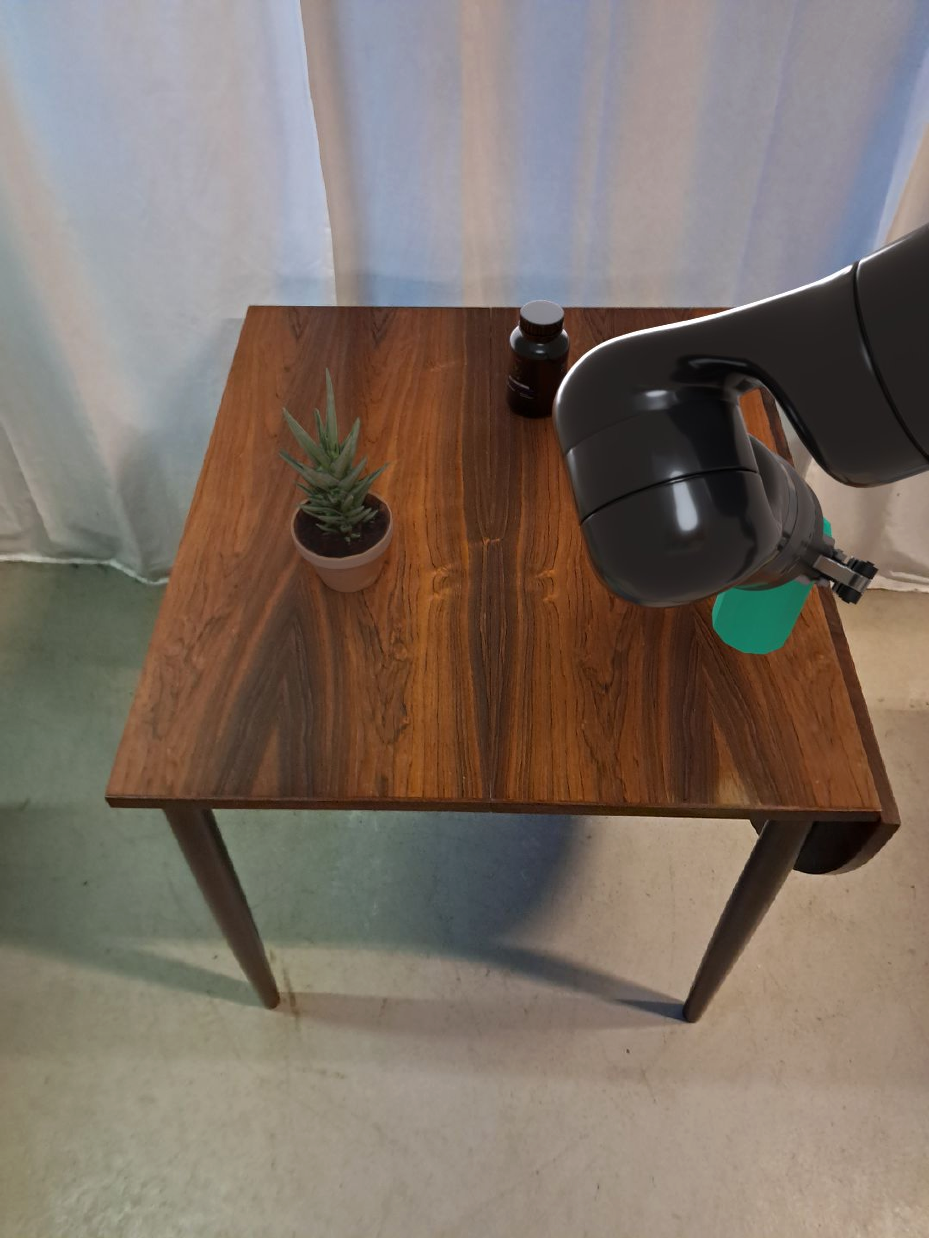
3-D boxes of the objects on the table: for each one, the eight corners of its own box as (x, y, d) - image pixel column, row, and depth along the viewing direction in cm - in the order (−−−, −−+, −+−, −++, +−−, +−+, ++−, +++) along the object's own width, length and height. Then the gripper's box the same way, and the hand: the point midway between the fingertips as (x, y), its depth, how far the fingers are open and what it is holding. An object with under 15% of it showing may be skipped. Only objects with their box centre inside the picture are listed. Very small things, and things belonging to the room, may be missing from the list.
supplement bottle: (502, 417, 103) (505, 327, 94) (510, 381, 107) (513, 291, 98) (561, 423, 103) (570, 333, 93) (566, 386, 107) (576, 296, 97)
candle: (703, 640, 68) (740, 531, 58) (720, 584, 71) (757, 472, 62) (783, 664, 66) (835, 556, 57) (796, 605, 70) (846, 494, 60)
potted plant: (321, 621, 85) (275, 417, 66) (289, 555, 90) (238, 347, 71) (417, 586, 88) (400, 380, 68) (380, 524, 93) (356, 315, 73)
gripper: (906, 520, 45) (914, 548, 60) (666, 403, 51) (727, 455, 66) (824, 646, 47) (852, 643, 62) (601, 519, 53) (675, 544, 68)
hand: (787, 546), depth 64 cm, fingers closed on candle, 6 cm apart
